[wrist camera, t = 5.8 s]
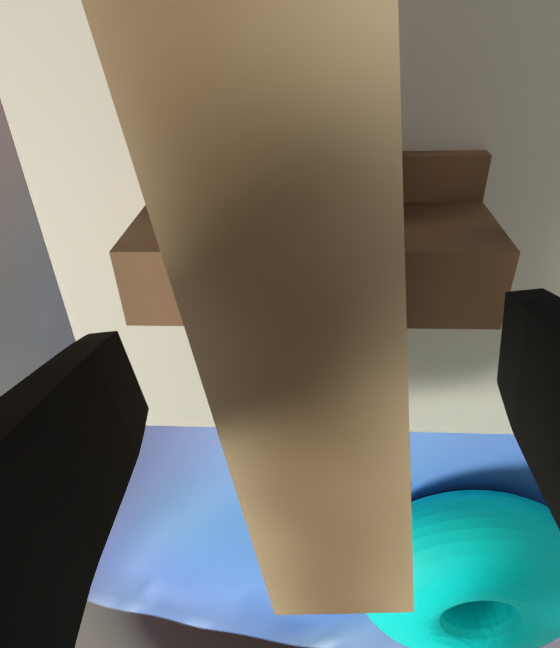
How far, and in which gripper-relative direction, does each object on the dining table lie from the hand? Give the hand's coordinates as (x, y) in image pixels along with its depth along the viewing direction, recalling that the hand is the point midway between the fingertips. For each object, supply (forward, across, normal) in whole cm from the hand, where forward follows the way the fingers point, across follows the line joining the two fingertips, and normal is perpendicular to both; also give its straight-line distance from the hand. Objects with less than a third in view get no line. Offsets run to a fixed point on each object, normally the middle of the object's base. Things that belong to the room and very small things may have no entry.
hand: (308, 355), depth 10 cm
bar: (+2, 0, -1) cm, 2 cm away
